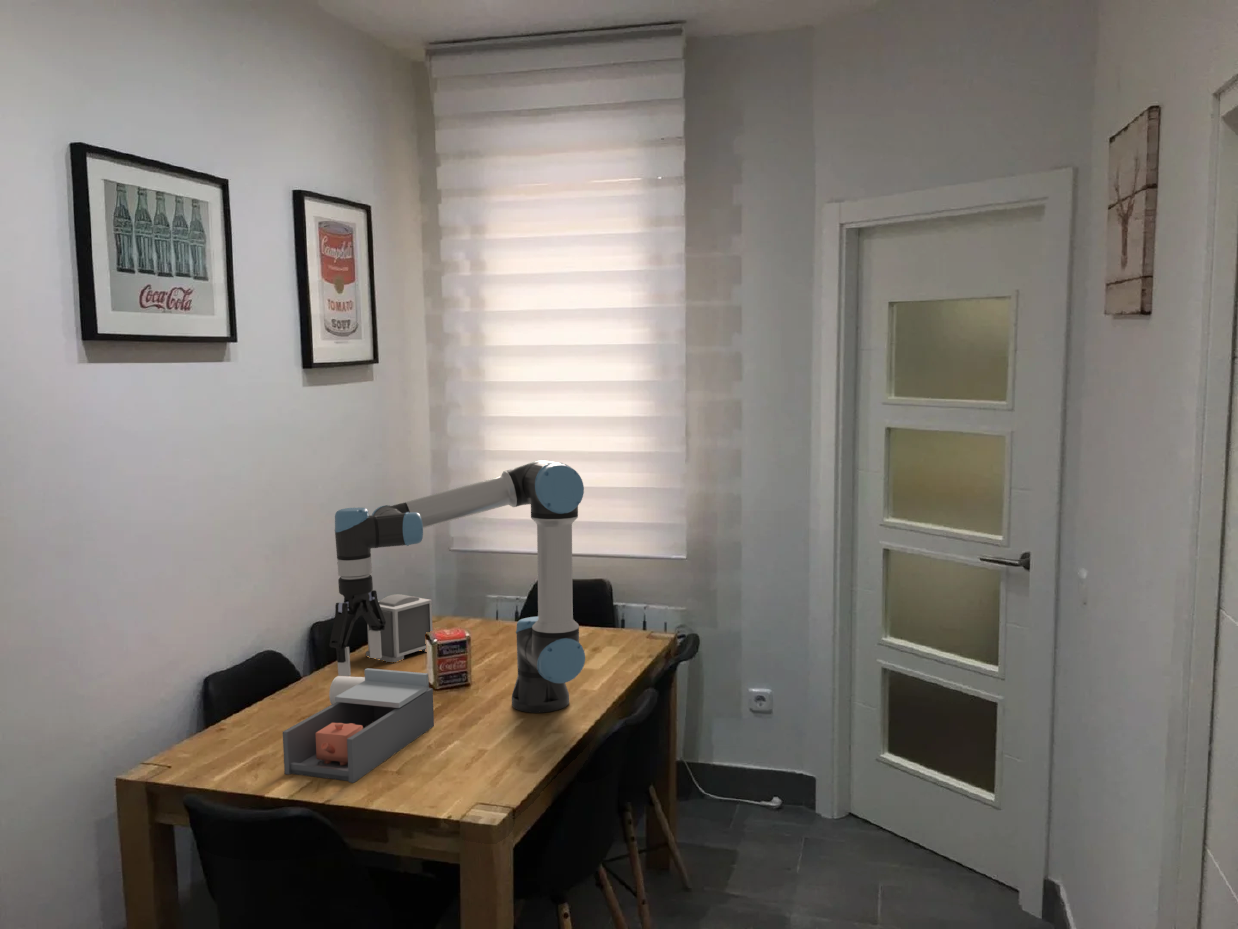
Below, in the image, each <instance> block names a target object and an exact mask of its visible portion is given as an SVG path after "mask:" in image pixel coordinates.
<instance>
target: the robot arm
mask: <svg viewBox="0 0 1238 929" xmlns="http://www.w3.org/2000/svg"><path fill="white" fill-rule="evenodd" d="M584 487H585V486H584V482H583V479H582V477H581V476H580V474H579V473H578V471H576V470H575V469H574V468H573V467H571V466H569V465H568V464H566V463H563V462H558V461H552V460H547V459H539V460H536V461H531V462H529V463H527V464H522V465H520V466H518V467H514V468H510V469H507V470H504V471H503V472H502V473H501V475H500V476H497V477H493V478H490V479H484V480H482V481H478V482H474V483H471V484H470V483H469V484H467V485H464V486H460V487H456V488H453V489H449V490H444V491H442V492H438V493H434V494H430V495H426V496H423V497H419V498H415V499H411V500H407V501H405V502H401V503H397V504H394V505H393V504H392V505H388V504H387V505H381V506H379V507H377V508H375V510H374V511H373V512H372V514H371V515H370V513H369V510H368V508H366V507H346V508H342V509H338V510H337V511H336V512H335V514H334V536H335V548H336V559H337V560H336V562H337V563H336V565H337V575H338V576H339V578H338V593H339V594H340V595H342V596H343V602H336V603H335V606H334V608H335V609H334V610H335V611H334V612H335V614H334V619H333V624H332V629H331V633H330V639H329V648H333V649H336V650H335V651H336V663H337V674H338V675H337V676H348V677H351V676H352V674H351V671H352V670H351V658H350V646H348V643H349V640H350V638H351V634H352V632H353V628H354V625H355V622H356V621H357V620H358V618H359V617H361V616H362V618H363V619H364V621H365V622H366V624H368V625H369V627H370V628H371V629H372V630H370V631H369V646H370V658H382V650H381V632H380V630H384V629H385V624H386V621H385V618H384V616H383V613H382V610H381V607H380V605H379V602H378V601H379V599H378V595H377V594H378V593H377V590H376V589H375V590H374V584H373V575H371V574H372V572H373V570H372V568H373V567H372V554H371V551H372V550H371V549H378V548H389V547H400V546H401V547H402V546H406V547H408V546H410V545H418V544H420V543H422V541H423V538H424V529H427V528H430V527H434V526H436V525H441V524H444V523H448V522H452V521H456V520H459V519H463V518H466V517H469V516H473V515H477V514H479V513H484V512H487V511H491V510H494V509H498V508H502V507H505V506H510V507H512V508H517V507H520V506H525V505H530V518H531V519H532V520H533V522H535V524H536V535H537V536H536V537H537V538H536V539H537V540H536V541H537V542H536V543H537V544H536V545H537V547H536V549H537V553H536V554H537V611H538V612H537V616H530V617H529V616H528V617H525V618H521V619H519V620H518V621H517V623H516V631H515V634H516V660H517V663H516V664H517V678H516V679H515V684H514V688H513V691H512V694H511V706H512V707H513V708H514V709H515V710H516V711H521V712H525V713H533V714H534V713H536V714H537V713H549V712H550V713H551V712H554V711H559V710H562V709H564V708H566V707H567V706H569V704H570V693H569V691H568V690H569V689H568V687H567V684H566V683H568V682H571V681H573V680H574V679H575V678H577V677H578V675H579V674H580V673H581V672H582V671H583V668H584V666H585V663H586V653H585V649H584V648H583V646H582V645H581V643H580V628H579V627H580V625H579V623H578V622H577V621H575V619H574V615H573V614H574V612H573V608H574V607H573V606H574V605H573V599H574V598H573V596H574V595H573V594H574V593H573V523H574V522H575V521H576V520H577V519H578V518H579V505H580V504H581V502H582V500H583V497H584V493H585V488H584ZM378 619H380V620H378ZM370 658H369V659H370Z"/></svg>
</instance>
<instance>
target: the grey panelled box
mask: <svg viewBox="0 0 1238 929" xmlns="http://www.w3.org/2000/svg"><path fill="white" fill-rule="evenodd" d="M432 601H433V600H432V599H427V598H422V597H418V596H411V595H407V594H401V593H400V594H397V593H396V594H390V595H387V596H386V597H384V598H382V599H380V600H378V602H379V605H380V607H381V610H382V613H383V616H384V618H385V621H386V624H385V629H384V630H380V632H381V650H382V658H376V659H380V660H384V661H386V662H385V663H387V662H397V661H399V660H402V659H404V660H405V656H406V655H409V654H412V653H415V652H420V651H419V650H422V651H424V652H423V653H425V649H426V644H425V634H426V632H430V631H433V632H434V630H433V606H432V605H433V602H432ZM378 620H380V619H378ZM366 624H367V623H366ZM370 630H372V629H371V628H370V627H369V625H368V624H367V644H368V645H367V647H368V649H367V651H365V657H366V656H369V657H370V646H369V631H370ZM397 663H398V662H397Z"/></svg>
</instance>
